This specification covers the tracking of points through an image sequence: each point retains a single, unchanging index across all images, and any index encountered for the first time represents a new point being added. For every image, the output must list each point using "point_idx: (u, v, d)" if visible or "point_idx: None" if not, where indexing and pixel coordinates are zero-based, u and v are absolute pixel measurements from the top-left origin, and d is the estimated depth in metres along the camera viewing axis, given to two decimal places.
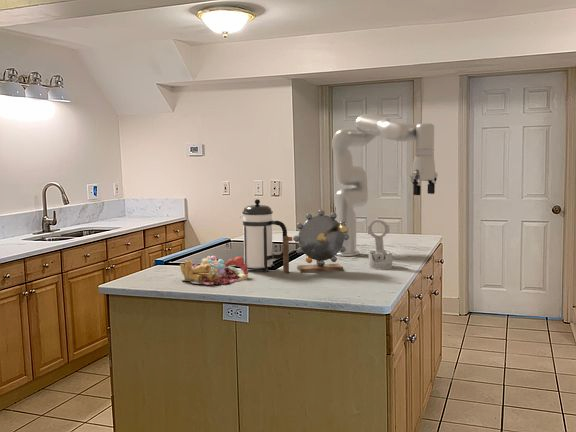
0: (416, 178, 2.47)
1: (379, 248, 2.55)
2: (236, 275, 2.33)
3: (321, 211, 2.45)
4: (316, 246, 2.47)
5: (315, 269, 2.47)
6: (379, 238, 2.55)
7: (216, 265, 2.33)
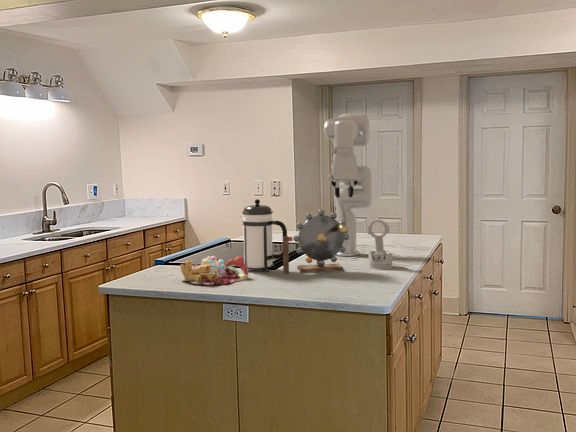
0: (352, 179, 2.40)
1: (379, 248, 2.55)
2: (236, 275, 2.33)
3: (321, 211, 2.45)
4: (316, 246, 2.47)
5: (315, 269, 2.47)
6: (379, 238, 2.55)
7: (216, 265, 2.32)
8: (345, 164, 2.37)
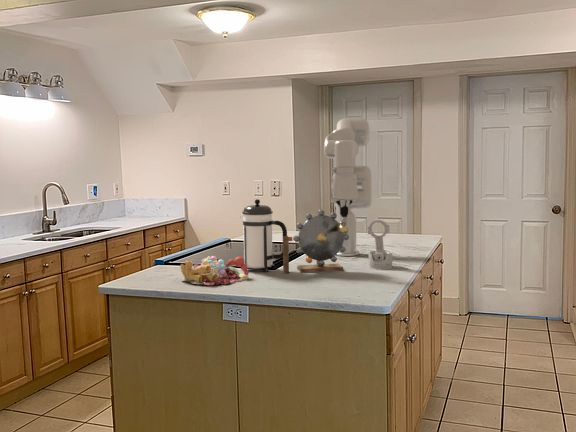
0: None
1: (379, 248, 2.55)
2: (236, 275, 2.32)
3: (321, 211, 2.45)
4: (316, 246, 2.47)
5: (315, 269, 2.47)
6: (379, 238, 2.55)
7: (216, 265, 2.32)
8: (345, 184, 2.37)
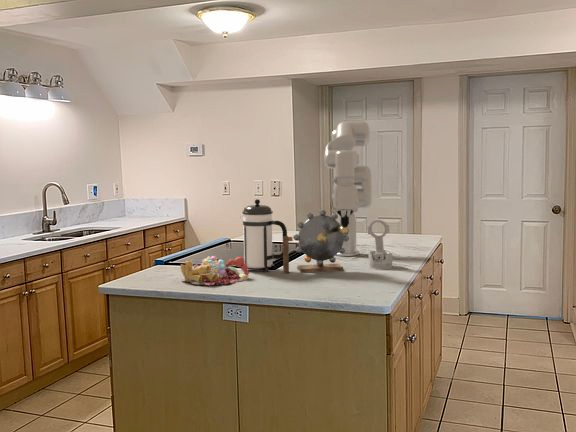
0: None
1: (379, 248, 2.55)
2: (237, 275, 2.32)
3: (323, 211, 2.45)
4: (316, 246, 2.46)
5: (315, 269, 2.47)
6: (379, 238, 2.55)
7: (216, 265, 2.32)
8: (346, 194, 2.38)
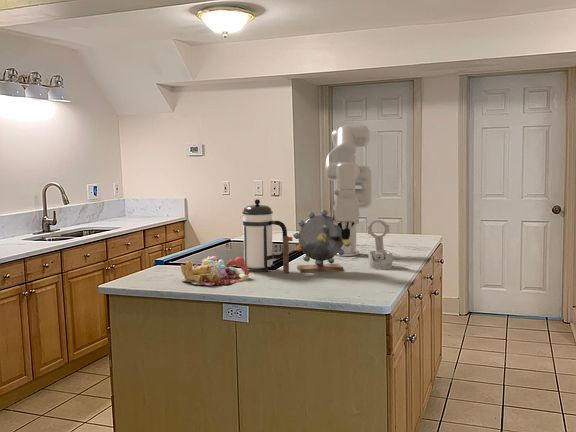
0: None
1: (379, 248, 2.55)
2: (237, 276, 2.32)
3: None
4: (312, 241, 2.46)
5: (315, 269, 2.47)
6: (379, 238, 2.55)
7: (217, 266, 2.32)
8: (347, 206, 2.38)
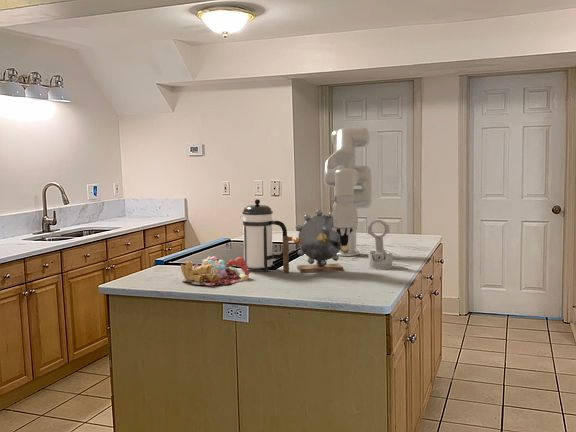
0: (349, 228, 2.41)
1: (379, 248, 2.55)
2: (237, 276, 2.32)
3: None
4: (312, 238, 2.46)
5: (315, 269, 2.47)
6: (379, 238, 2.55)
7: (217, 266, 2.31)
8: (345, 212, 2.38)
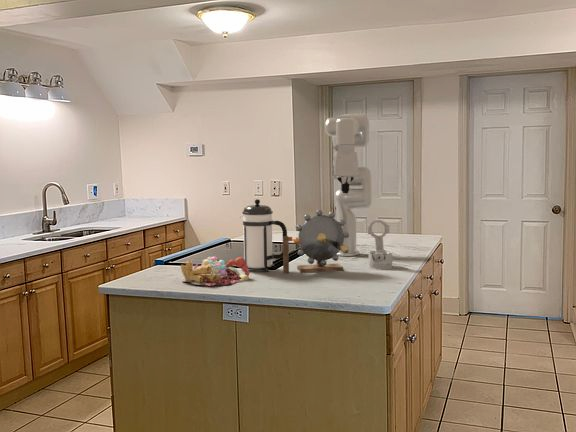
0: (350, 176, 2.47)
1: (379, 248, 2.55)
2: (237, 276, 2.31)
3: (343, 222, 2.48)
4: (312, 238, 2.46)
5: (315, 269, 2.47)
6: (379, 238, 2.55)
7: (217, 266, 2.31)
8: (346, 161, 2.43)
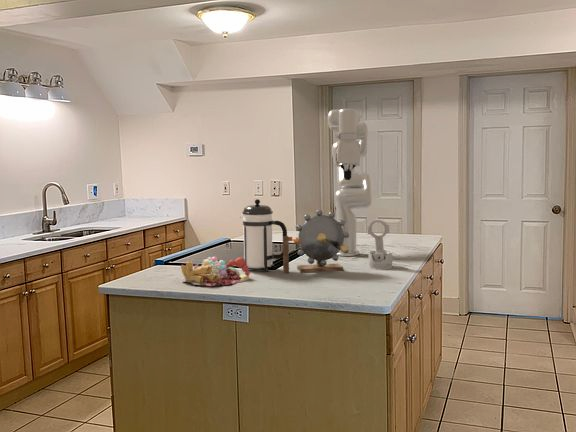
0: None
1: (379, 248, 2.55)
2: (238, 276, 2.31)
3: (343, 222, 2.48)
4: (312, 238, 2.46)
5: (315, 269, 2.47)
6: (379, 238, 2.55)
7: (217, 266, 2.31)
8: (348, 149, 2.57)
